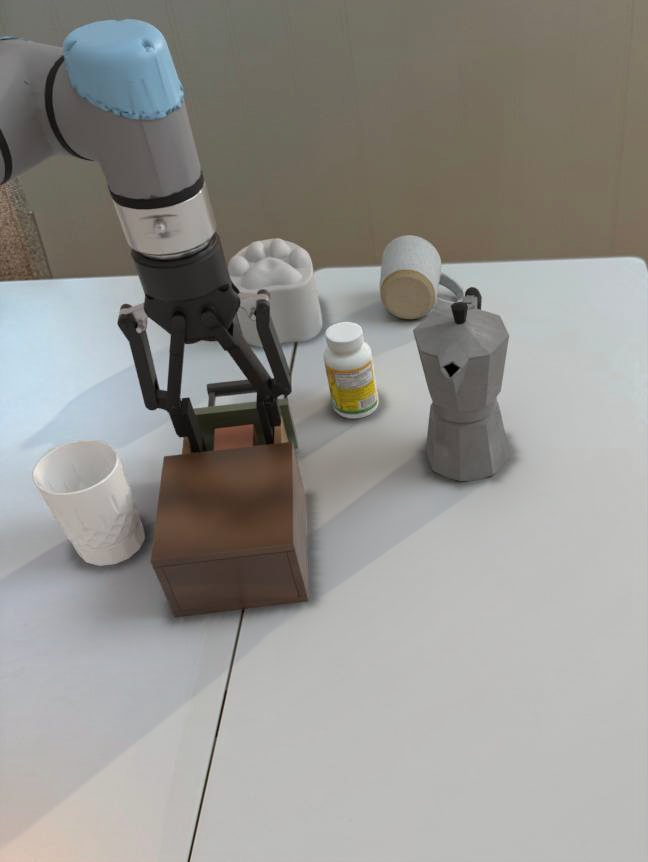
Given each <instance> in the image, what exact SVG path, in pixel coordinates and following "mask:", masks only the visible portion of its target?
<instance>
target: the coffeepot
mask: <svg viewBox="0 0 648 862" xmlns="http://www.w3.org/2000/svg"><path fill="white" fill-rule="evenodd" d="M464 292H465V296H463V298H462V301H461V302H457V301H454V302H455V303H453V304H452V305H451V309H448V310H442V311H440V310H438V311H433V312H431V313H430V314H429V315H428V316H427V317H425V319H423V320H422V321H421V322H420V323H419V324H418V325H416V327H414V328H413V330H412V333H413V336H414V341H415V343H416V347H417V351H418V355H419V356H418V357H419V360H420V363H421V367H422V371H423V374H424V375H423V376H424V379H425V383H426V386H427V390H428V393H429V396H430V399H431V401H432V402H431V404H430V406H429V416H428V425H427V433H426V434H427V435H426V443H425V444H426V445H425V452H426V454H427V458H428V463H429V465H430V467H431V470H432V472H434V473H436V474H438V475H440V476H442V477H444V478H446V479H450V480H453V481H459V482H473V481H479V480H483V479H486V478H488V477H491V476H494V475H496V473H498V472H499V471H500V470H501V469H502V468H503V467H504V465H505V464H506V462H507V461H508V459H509V458H510V457H511V453H510V448H509V443H508V440H507V435H506V430H505V425H504V421H503V416H502V412H501V409H500V405H499V402H498V396H499V394H501V391H502V385H503V380H504V374H505V373H504V372H505V366H506V359H507V353H508V347H509V341H510V340H509V339H510V334H509V332H508V330H507V327H506V325H505V323H504V321H503V319H502V317H501V315H500V314H496V313H493V312H489V311H487V310H483V309H482V302H483V301H482V299H483V297H482V295H481V291H480V290H479V289H478V288H477V287H475V286H469V287H468V288H467V289H466V290H465V291H464Z"/></svg>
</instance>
